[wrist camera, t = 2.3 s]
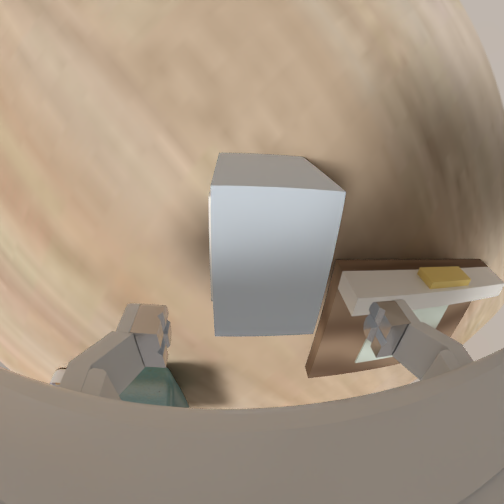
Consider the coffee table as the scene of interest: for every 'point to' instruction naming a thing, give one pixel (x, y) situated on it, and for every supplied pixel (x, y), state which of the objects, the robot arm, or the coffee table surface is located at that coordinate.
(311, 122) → the coffee table surface
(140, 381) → the flower pot
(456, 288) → the price rail
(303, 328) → the product carton
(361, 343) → the shelf board
